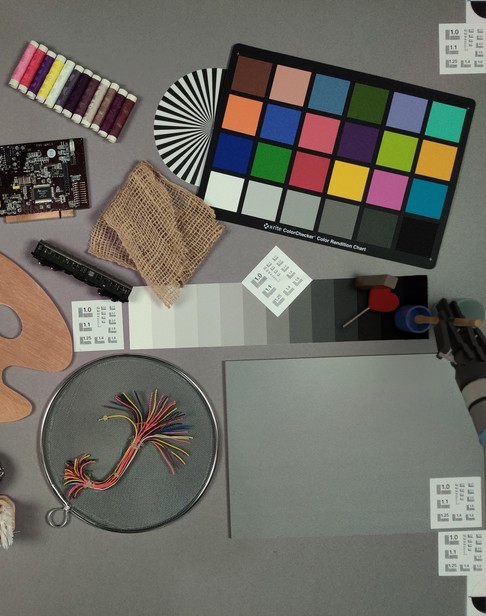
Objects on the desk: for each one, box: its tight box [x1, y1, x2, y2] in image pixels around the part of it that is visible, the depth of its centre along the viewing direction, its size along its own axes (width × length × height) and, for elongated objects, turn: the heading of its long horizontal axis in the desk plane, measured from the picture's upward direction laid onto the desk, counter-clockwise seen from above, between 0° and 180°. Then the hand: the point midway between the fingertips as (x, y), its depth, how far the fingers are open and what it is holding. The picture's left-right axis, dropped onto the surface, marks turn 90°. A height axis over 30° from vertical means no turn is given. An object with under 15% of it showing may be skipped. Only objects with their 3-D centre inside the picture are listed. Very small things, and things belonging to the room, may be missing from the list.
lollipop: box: [342, 289, 400, 328], centre depth 143 cm, size 8×1×15 cm
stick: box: [415, 315, 483, 328], centre depth 129 cm, size 2×2×20 cm
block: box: [352, 273, 399, 291], centre depth 137 cm, size 3×3×14 cm
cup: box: [431, 297, 486, 331], centre depth 139 cm, size 8×8×10 cm
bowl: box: [393, 304, 432, 334], centre depth 141 cm, size 6×6×5 cm
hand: (445, 303), depth 131 cm, fingers closed on stick, 2 cm apart
